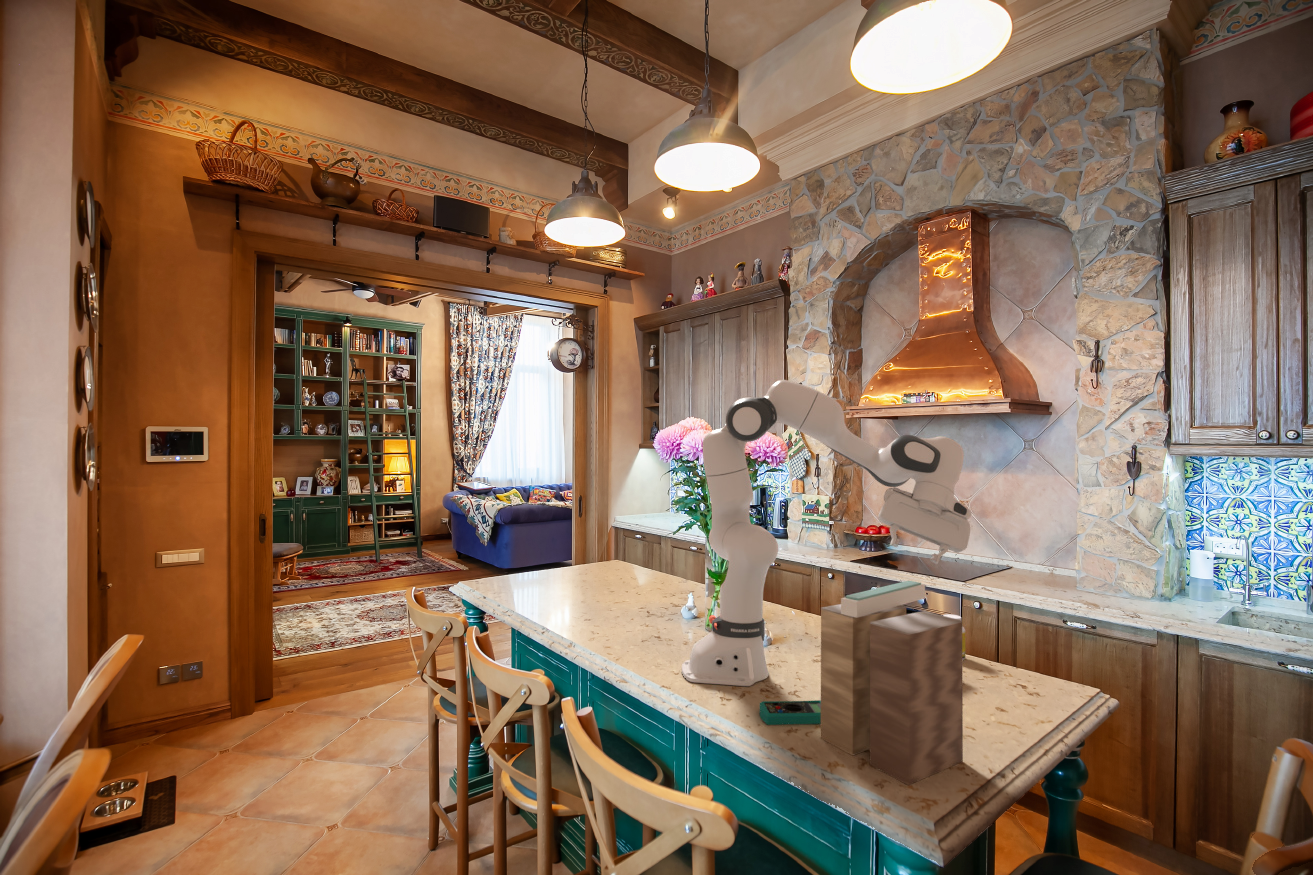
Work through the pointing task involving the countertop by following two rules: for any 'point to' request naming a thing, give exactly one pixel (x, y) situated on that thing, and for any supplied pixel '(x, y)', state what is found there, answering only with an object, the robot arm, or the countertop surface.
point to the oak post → (847, 677)
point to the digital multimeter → (790, 712)
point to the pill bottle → (962, 633)
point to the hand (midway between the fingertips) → (913, 554)
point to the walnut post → (916, 695)
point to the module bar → (882, 598)
